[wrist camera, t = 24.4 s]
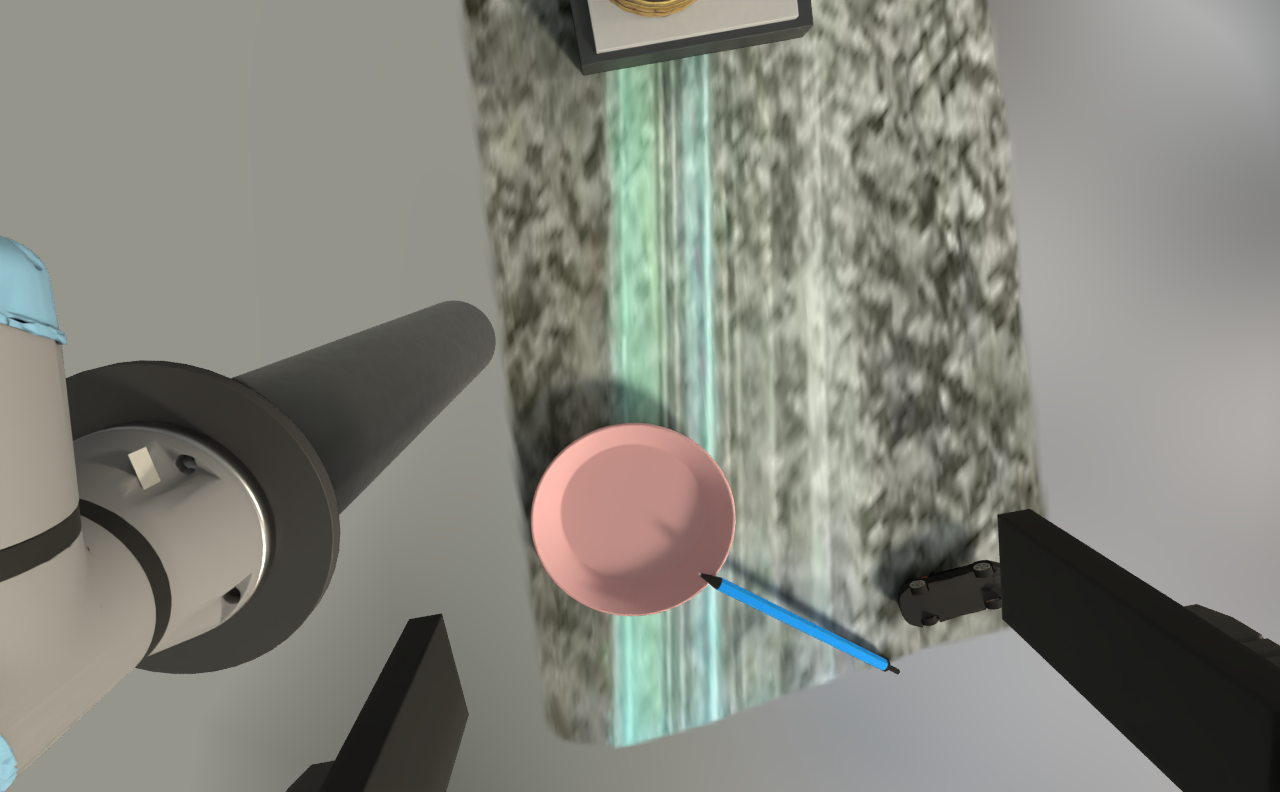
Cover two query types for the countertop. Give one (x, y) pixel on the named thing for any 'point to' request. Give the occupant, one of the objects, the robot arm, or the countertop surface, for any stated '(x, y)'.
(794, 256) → the countertop surface
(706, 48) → the kitchen scale
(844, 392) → the countertop surface
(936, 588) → the toy car
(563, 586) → the plate
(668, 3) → the wooden mug
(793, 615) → the pen
